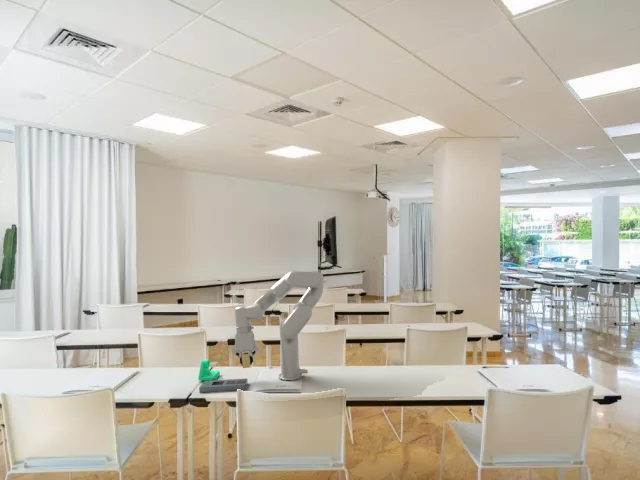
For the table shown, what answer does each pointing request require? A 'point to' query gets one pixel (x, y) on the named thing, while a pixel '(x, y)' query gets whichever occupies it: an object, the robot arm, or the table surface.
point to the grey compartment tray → (223, 385)
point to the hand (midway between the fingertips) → (246, 364)
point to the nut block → (246, 360)
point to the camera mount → (207, 371)
